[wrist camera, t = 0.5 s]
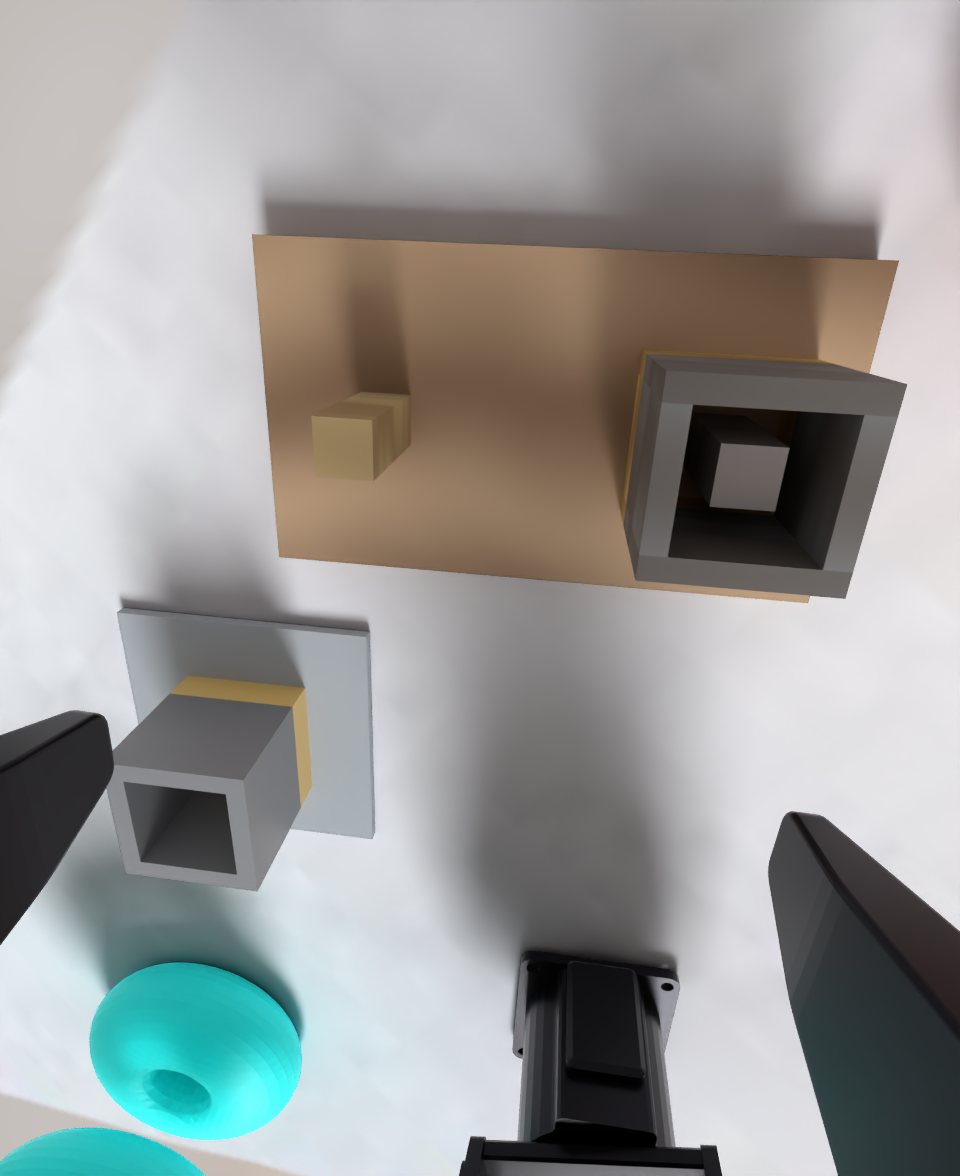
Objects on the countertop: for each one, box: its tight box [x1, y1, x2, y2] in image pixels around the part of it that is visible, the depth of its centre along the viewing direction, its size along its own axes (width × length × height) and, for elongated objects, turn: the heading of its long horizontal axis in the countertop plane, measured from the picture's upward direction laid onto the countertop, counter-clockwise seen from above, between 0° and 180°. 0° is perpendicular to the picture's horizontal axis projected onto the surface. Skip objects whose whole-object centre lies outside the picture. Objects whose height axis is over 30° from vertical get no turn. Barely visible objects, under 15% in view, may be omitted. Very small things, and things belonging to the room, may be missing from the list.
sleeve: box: [106, 676, 312, 891], centre depth 23 cm, size 4×4×5 cm
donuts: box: [0, 962, 302, 1176], centre depth 29 cm, size 10×10×10 cm
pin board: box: [252, 234, 907, 603], centre depth 17 cm, size 9×16×6 cm, turn 88°
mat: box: [117, 608, 375, 839], centre depth 25 cm, size 9×9×1 cm
